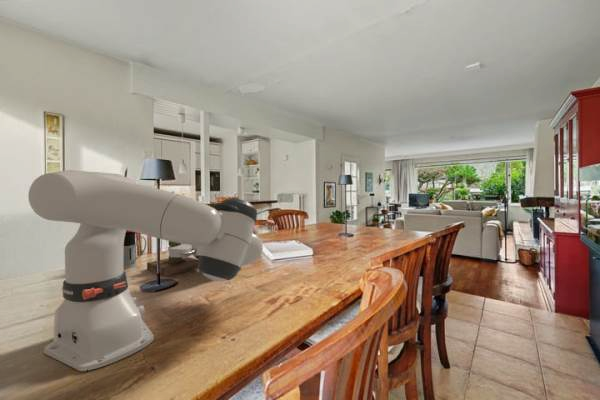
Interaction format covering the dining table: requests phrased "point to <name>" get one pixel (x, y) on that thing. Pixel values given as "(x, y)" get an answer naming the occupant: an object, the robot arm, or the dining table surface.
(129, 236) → the glass holder
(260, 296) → the dining table surface
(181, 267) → the walnut collar
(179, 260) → the cork
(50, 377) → the dining table surface
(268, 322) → the dining table surface
